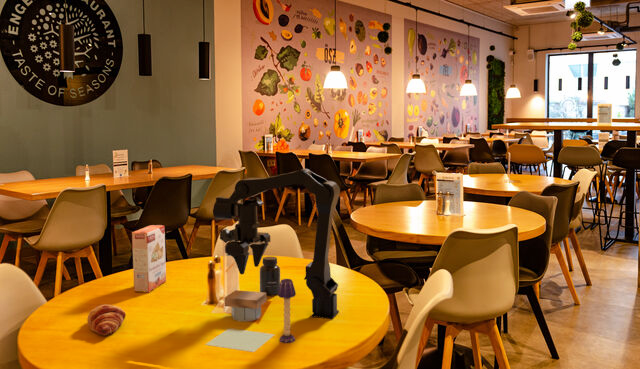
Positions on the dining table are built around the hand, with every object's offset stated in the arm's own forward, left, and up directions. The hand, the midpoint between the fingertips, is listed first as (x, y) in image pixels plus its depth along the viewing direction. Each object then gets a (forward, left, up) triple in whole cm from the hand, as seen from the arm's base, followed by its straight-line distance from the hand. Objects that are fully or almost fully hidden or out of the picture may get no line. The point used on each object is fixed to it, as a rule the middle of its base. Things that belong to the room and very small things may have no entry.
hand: (249, 270), depth 172 cm
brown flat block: (-3, +8, -8) cm, 11 cm away
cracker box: (+44, -9, -12) cm, 47 cm away
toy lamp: (-22, +21, -12) cm, 32 cm away
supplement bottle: (+1, -16, -12) cm, 20 cm away
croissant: (+32, +27, -12) cm, 43 cm away
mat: (-10, +24, -12) cm, 29 cm away
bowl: (-3, +8, -12) cm, 15 cm away
